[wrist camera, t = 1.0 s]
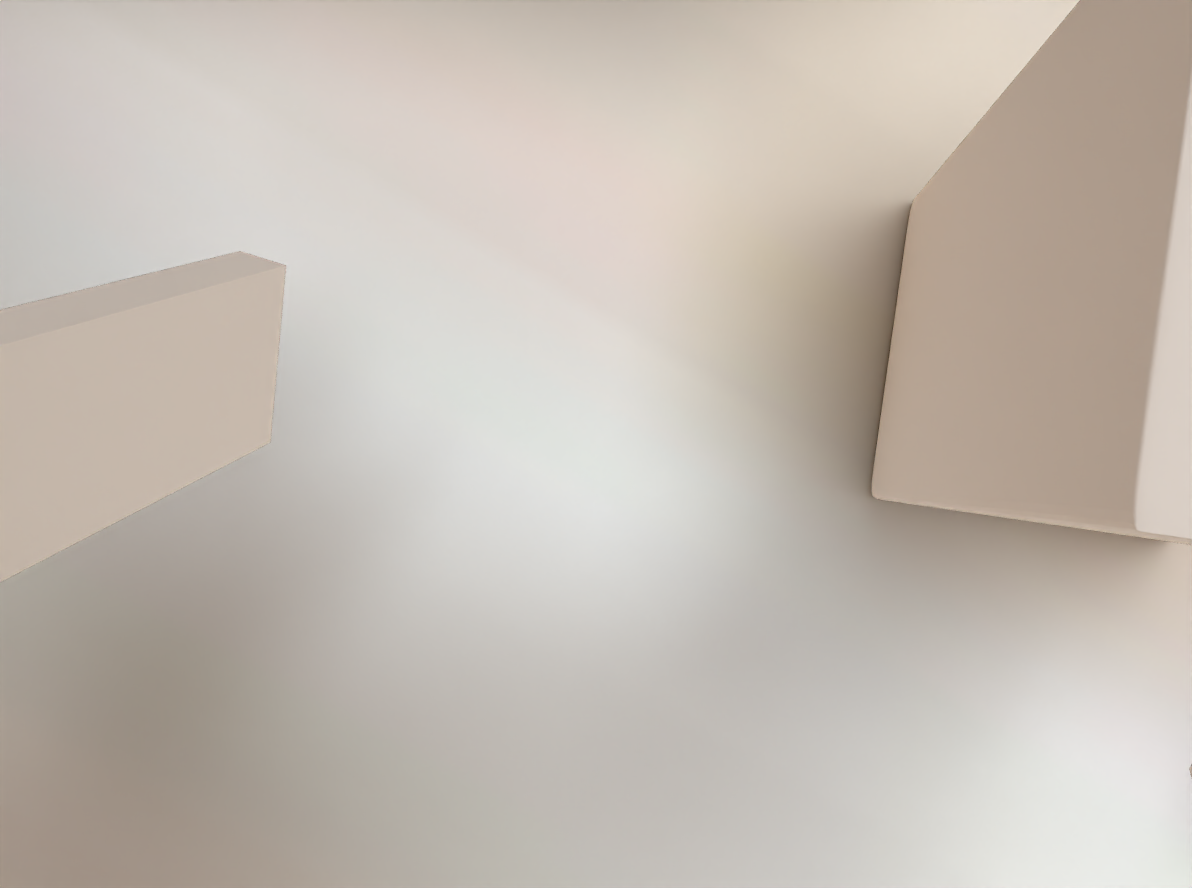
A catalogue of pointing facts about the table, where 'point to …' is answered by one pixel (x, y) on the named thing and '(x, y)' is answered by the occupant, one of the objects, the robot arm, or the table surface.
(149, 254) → the table surface
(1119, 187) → the milk carton
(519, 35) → the table surface
